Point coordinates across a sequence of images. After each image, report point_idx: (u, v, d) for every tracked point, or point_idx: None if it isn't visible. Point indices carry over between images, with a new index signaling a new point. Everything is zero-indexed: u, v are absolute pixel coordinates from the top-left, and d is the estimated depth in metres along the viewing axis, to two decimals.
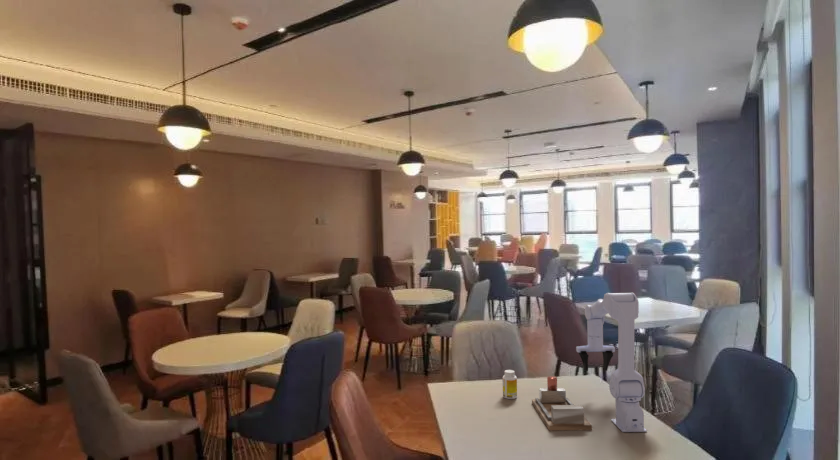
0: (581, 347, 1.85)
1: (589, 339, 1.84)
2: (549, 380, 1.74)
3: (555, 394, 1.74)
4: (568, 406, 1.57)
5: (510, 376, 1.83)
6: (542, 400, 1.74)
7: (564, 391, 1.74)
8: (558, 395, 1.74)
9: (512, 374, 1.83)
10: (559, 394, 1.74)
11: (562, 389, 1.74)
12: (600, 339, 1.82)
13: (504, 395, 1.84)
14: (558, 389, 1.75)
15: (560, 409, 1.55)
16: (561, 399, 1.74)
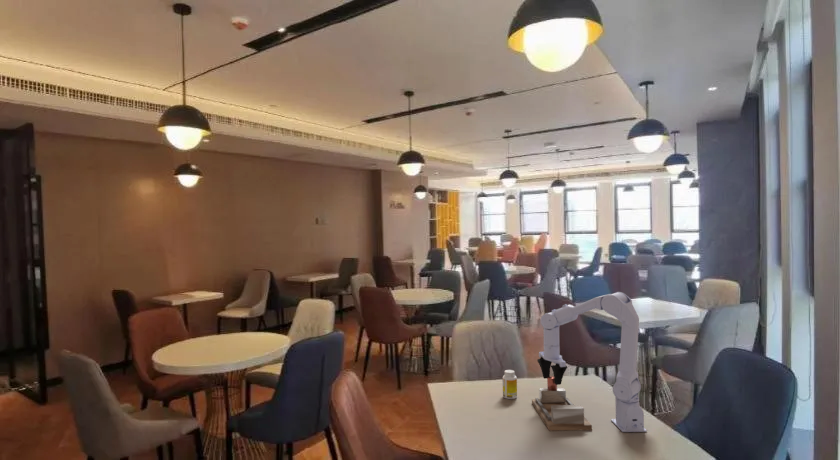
0: (543, 353, 1.80)
1: None
2: (549, 380, 1.74)
3: (555, 394, 1.74)
4: (568, 406, 1.57)
5: (510, 376, 1.83)
6: (542, 400, 1.74)
7: (564, 391, 1.74)
8: (558, 395, 1.74)
9: (512, 374, 1.83)
10: (559, 394, 1.74)
11: (562, 389, 1.74)
12: (547, 348, 1.73)
13: (504, 395, 1.84)
14: (558, 389, 1.75)
15: (560, 409, 1.55)
16: (561, 399, 1.74)
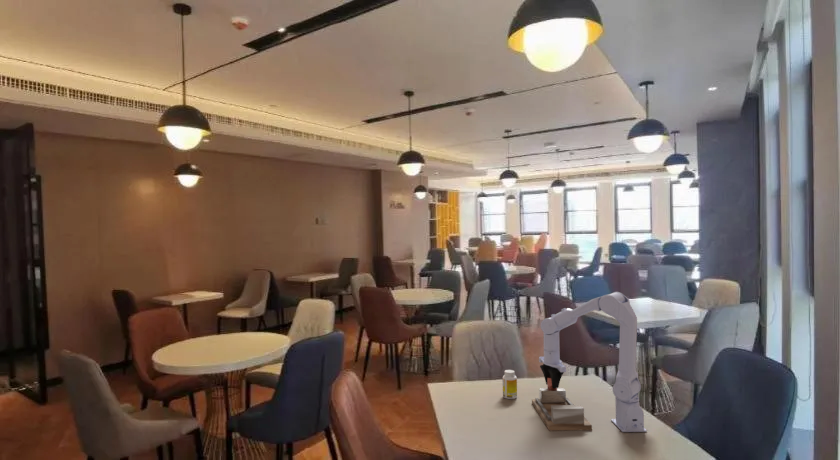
0: (543, 358, 1.80)
1: None
2: (549, 380, 1.74)
3: (555, 394, 1.74)
4: (568, 406, 1.57)
5: (510, 376, 1.83)
6: (542, 400, 1.74)
7: (564, 391, 1.74)
8: (558, 395, 1.74)
9: (512, 374, 1.83)
10: (559, 394, 1.74)
11: (562, 389, 1.74)
12: (547, 353, 1.73)
13: (504, 395, 1.84)
14: (558, 389, 1.75)
15: (560, 409, 1.55)
16: (561, 399, 1.74)
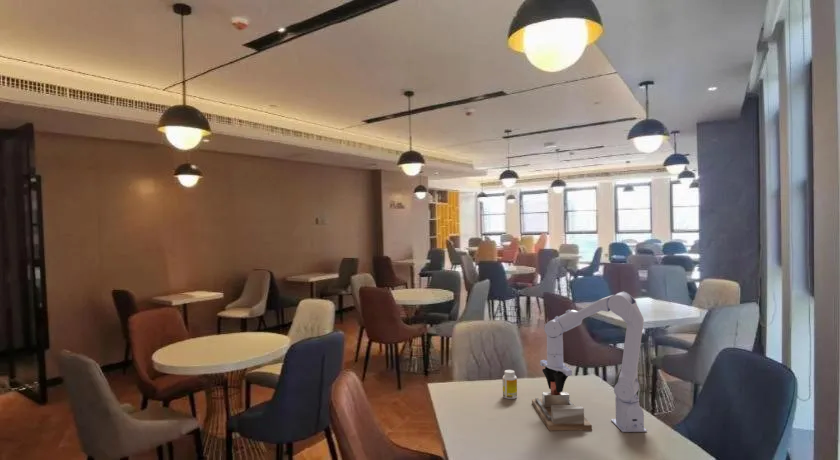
0: (545, 361, 1.76)
1: None
2: (552, 384, 1.70)
3: (559, 399, 1.69)
4: (568, 406, 1.57)
5: (510, 376, 1.83)
6: (545, 405, 1.69)
7: (568, 395, 1.69)
8: (562, 400, 1.69)
9: (512, 374, 1.83)
10: (563, 399, 1.69)
11: (566, 394, 1.70)
12: (551, 357, 1.69)
13: (504, 395, 1.84)
14: (562, 393, 1.70)
15: (560, 409, 1.55)
16: (565, 403, 1.69)
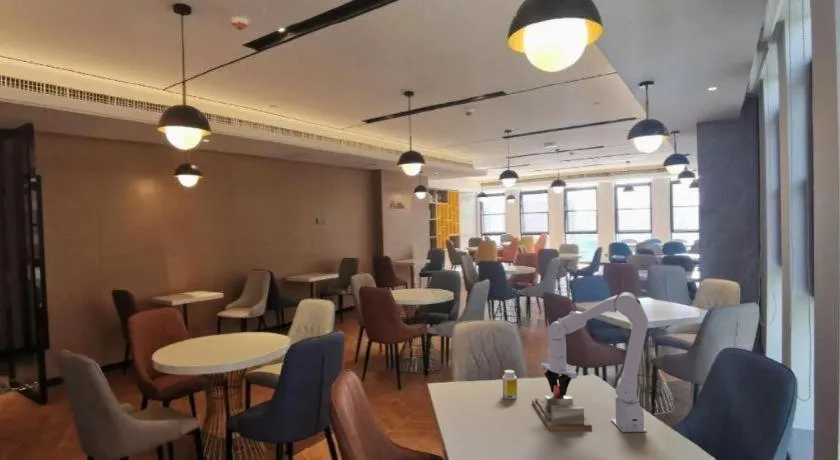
0: (546, 364, 1.72)
1: None
2: (555, 387, 1.66)
3: (562, 402, 1.66)
4: (568, 406, 1.57)
5: (510, 376, 1.83)
6: (548, 409, 1.66)
7: (571, 399, 1.66)
8: (565, 403, 1.66)
9: (512, 374, 1.83)
10: (566, 402, 1.66)
11: (569, 397, 1.66)
12: (555, 360, 1.65)
13: (504, 395, 1.84)
14: (565, 397, 1.67)
15: (560, 409, 1.55)
16: None
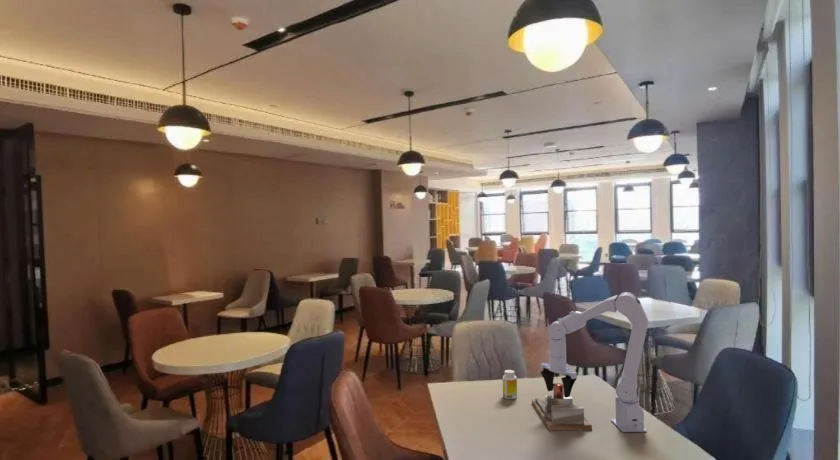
0: (546, 364, 1.72)
1: None
2: (555, 387, 1.66)
3: (562, 402, 1.66)
4: (568, 406, 1.57)
5: (510, 376, 1.83)
6: (548, 409, 1.66)
7: (571, 399, 1.66)
8: (565, 403, 1.66)
9: (512, 374, 1.83)
10: (566, 402, 1.66)
11: (569, 397, 1.66)
12: (555, 360, 1.65)
13: (504, 395, 1.84)
14: (565, 397, 1.67)
15: (560, 409, 1.55)
16: None
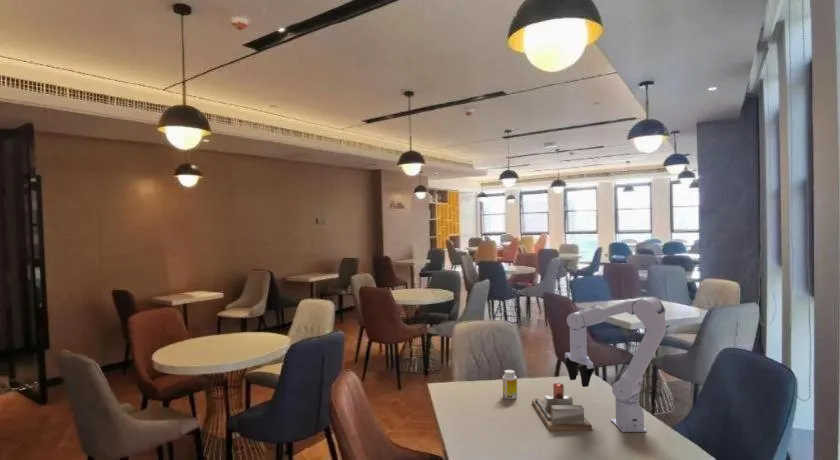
0: (569, 354, 1.74)
1: None
2: (555, 387, 1.66)
3: (562, 402, 1.66)
4: (568, 406, 1.57)
5: (510, 376, 1.83)
6: (548, 409, 1.66)
7: (571, 399, 1.66)
8: (565, 403, 1.66)
9: (512, 374, 1.83)
10: (566, 402, 1.66)
11: (569, 397, 1.66)
12: (573, 349, 1.67)
13: (504, 395, 1.84)
14: (565, 397, 1.67)
15: (560, 409, 1.55)
16: None
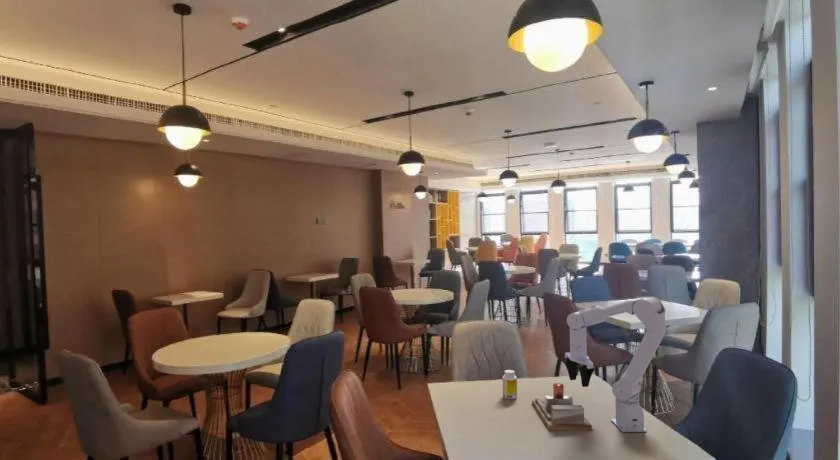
0: (569, 354, 1.74)
1: None
2: (555, 387, 1.66)
3: (562, 402, 1.66)
4: (568, 406, 1.57)
5: (510, 376, 1.83)
6: (548, 409, 1.66)
7: (571, 399, 1.66)
8: (565, 403, 1.66)
9: (512, 374, 1.83)
10: (566, 402, 1.66)
11: (569, 397, 1.66)
12: (573, 349, 1.67)
13: (504, 395, 1.84)
14: (565, 397, 1.67)
15: (560, 409, 1.55)
16: None
